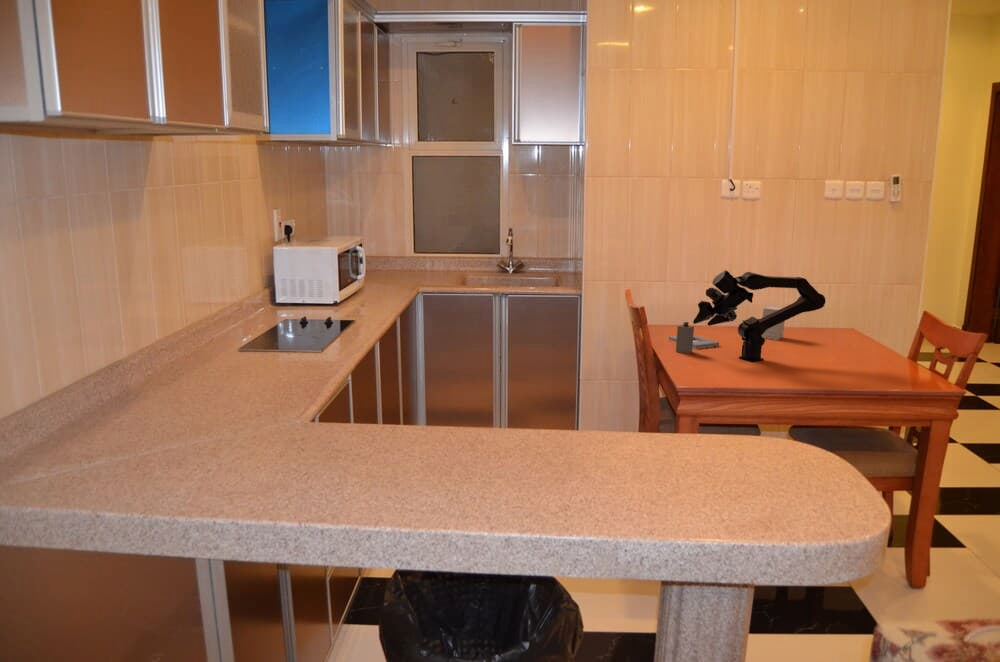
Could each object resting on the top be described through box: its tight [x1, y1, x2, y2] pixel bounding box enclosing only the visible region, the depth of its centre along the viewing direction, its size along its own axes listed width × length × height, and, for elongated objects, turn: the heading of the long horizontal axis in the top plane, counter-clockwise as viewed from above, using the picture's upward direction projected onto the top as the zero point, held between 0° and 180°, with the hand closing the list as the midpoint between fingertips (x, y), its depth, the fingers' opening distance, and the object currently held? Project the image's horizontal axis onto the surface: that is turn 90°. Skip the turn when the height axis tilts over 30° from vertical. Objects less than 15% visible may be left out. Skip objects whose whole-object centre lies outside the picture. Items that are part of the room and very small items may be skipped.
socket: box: [668, 334, 720, 350], centre depth 312 cm, size 16×12×2 cm
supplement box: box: [761, 305, 786, 341], centre depth 324 cm, size 7×7×13 cm
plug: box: [675, 321, 695, 355], centre depth 296 cm, size 4×4×12 cm
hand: (700, 323), depth 294 cm, fingers open, 9 cm apart
